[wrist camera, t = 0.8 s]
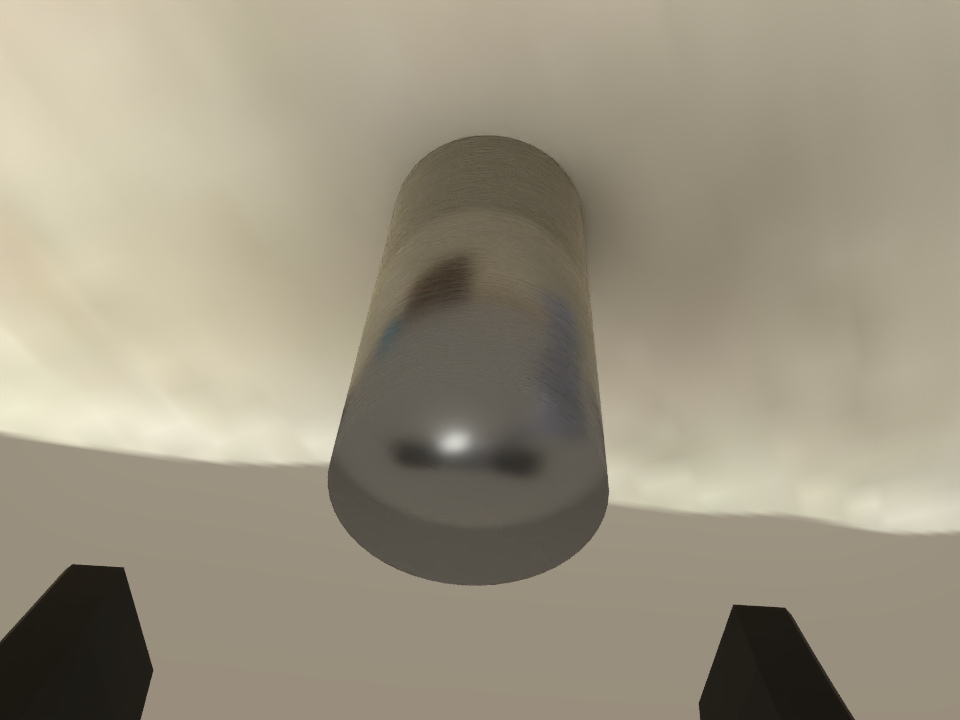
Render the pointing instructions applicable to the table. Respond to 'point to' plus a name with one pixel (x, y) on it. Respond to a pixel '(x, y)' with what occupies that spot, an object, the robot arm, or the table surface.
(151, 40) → the table surface
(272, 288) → the table surface
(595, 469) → the peg
